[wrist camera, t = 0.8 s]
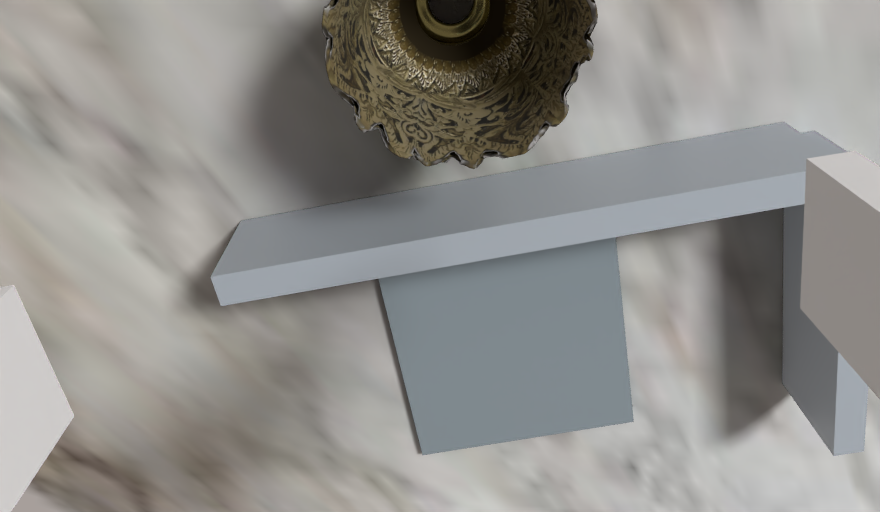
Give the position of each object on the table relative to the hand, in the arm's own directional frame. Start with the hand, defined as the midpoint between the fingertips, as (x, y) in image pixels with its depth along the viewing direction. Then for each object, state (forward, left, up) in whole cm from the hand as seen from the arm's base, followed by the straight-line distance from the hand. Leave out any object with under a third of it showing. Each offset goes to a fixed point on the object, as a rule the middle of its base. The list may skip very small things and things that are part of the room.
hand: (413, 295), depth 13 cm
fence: (+11, +3, -18) cm, 21 cm away
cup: (-2, +1, -18) cm, 18 cm away
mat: (+13, +1, -18) cm, 22 cm away
